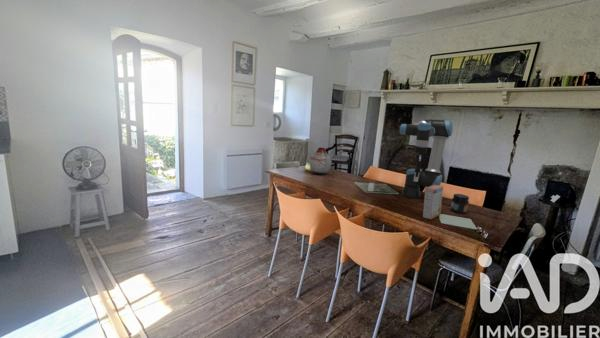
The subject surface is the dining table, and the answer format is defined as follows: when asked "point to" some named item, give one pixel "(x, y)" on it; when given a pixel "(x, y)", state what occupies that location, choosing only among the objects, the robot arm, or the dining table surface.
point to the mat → (457, 221)
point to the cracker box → (432, 201)
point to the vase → (320, 162)
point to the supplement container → (459, 203)
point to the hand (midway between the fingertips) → (415, 181)
